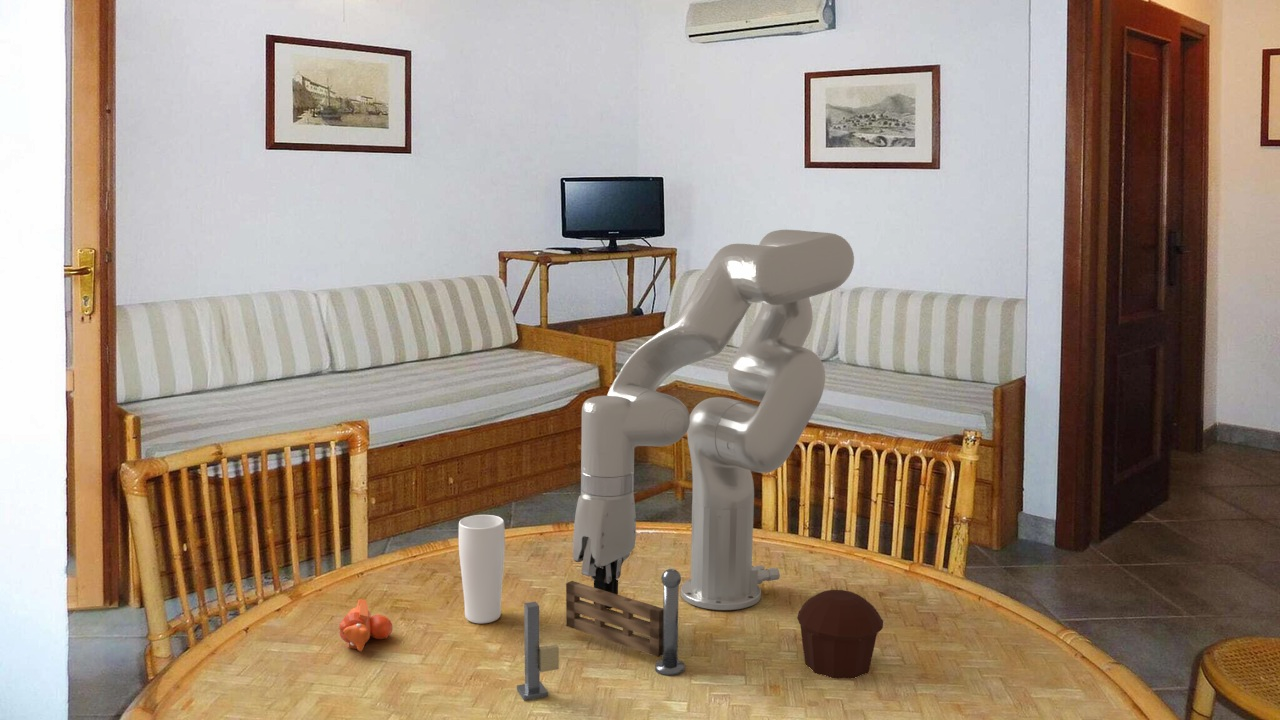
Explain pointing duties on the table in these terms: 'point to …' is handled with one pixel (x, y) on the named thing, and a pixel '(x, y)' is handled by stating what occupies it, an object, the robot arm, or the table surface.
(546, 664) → the post
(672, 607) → the hinge post
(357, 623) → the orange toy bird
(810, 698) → the table surface
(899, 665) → the table surface
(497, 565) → the drinking glass
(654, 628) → the gate
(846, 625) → the muffin
